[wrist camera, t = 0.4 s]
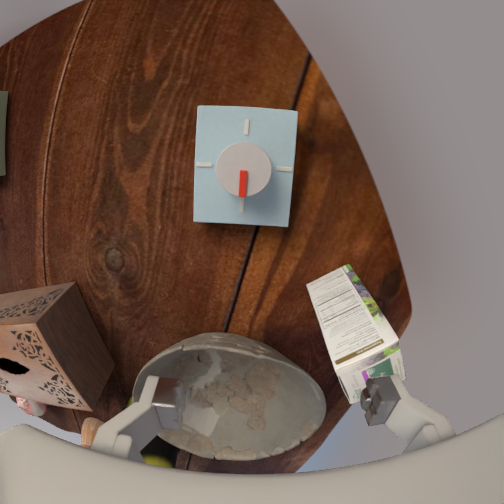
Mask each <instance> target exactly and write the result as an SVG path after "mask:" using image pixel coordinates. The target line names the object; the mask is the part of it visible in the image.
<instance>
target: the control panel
mask: <svg viewBox="0 0 504 504" xmlns="http://www.w3.org/2000/svg"><path fill="white" fill-rule="evenodd" d="M297 121H298V111H290V110H280V109H269V108H256V107H238V106H198V111H197V128H196V148H195V175H194V222H209V223H229V224H248V225H265V226H281V227H288V222H289V213H290V203H291V192H292V182H293V171H294V159H295V147H296V134H297ZM238 142H249V143H253V144H256V145H258V146H259V147H261V148H262V149H263V150H264V151H265V152H266V153H267V155H268V156H269V158H270V161H271V165H272V173H271V178H270V180H269V182H268V184H267V185H266V187H265V188H264V189H263V190H262V191H260V192H259V193H257V194H255V195H252V196H248V197H239V196H235V195H232V194H230V193H228V192H227V191H226V190H225V189H223V187H222V186H221V185H220V183H219V182H218V179H217V176H216V163H217V160H218V157H219V156H220V154H221V153H222V151H223V150H224V149H226V148H227V147H228V146H230V145H232V144H234V143H238Z"/></svg>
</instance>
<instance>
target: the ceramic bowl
mask: <svg viewBox="0 0 504 504" xmlns="http://www.w3.org/2000/svg"><path fill="white" fill-rule="evenodd" d="M149 375H152V376H158V377H166V378H173V379H180V380H183V382H184V389H183V390H184V391H185V393H186V407H185V412H183V413H182V415H183V423H182V429H181V431H178V430H169V429H162V430H161V431H160V432H159V433H158V434H157V435H158V436H159V437H160V438H162V439H163V440H165V441H167V442H169V443H170V444H172V445H174V446H176V447H178V448H180V449H185V450H186V451H188V452H190V453H192V454H195V455H197V456H201V457H205V458H212V459H213V457H214V455H215V458H216V459H218V460H222V459H225V460H254V459H263V458H265V457H270V456H271V455H273V456H274V455H278V454H281V453H283V452H285V450H286V451H288V450H290V449H292V448H294V447H296V446H298V445H299V444H300V442H301V441H305V440H307V439H308V438H310V437H311V436H312V435H313V434H314V433H315V431H316V430H317V429H318V428H319V427H320V426H321V424H322V422H323V420H324V418H325V415H326V400H325V396H324V394H323V391H322V390H321V388H320V387H319V385H318V383H317V382H316V381H315V380H314V379H313V378H312V377H311V376H310V375H309V374H308V373H307V372H305V371H304V370H303V369H301V368H300V367H299V366H298V365H296V364H295V363H294V362H292V361H291V360H289V359H288V358H286V357H285V356H283V355H282V354H281V353H279V352H278V351H277V350H275V349H273V348H272V347H270V346H268V345H266V344H264V343H262V342H260V341H257V340H254V339H251V338H247V337H244V336H241V335H237V334H234V333H222V332H213V333H204V334H199V335H196V336H193V337H190V338H187V339H184V340H182V341H180V342H178V343H176V344H174V345H173V346H171V347H169V348H167V349H166V350H164V351H163V352H161V353H160V354H158V355H157V356H155V357H154V358H153V359H151V360H150V361H149V362H148V363H147V364H146V365H145V366H144V367H143V368H142V370H141V371H140V373H139V375H138V377H137V379H136V381H135V384H134V388H133V392H132V400H133V403H135V402H139V400H140V397H141V394H142V391H143V388H144V385H145V383H146V380H147V377H148V376H149Z"/></svg>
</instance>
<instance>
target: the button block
mask: <svg viewBox="0 0 504 504" xmlns="http://www.w3.org/2000/svg"><path fill="white" fill-rule="evenodd" d="M7 99H8V91H0V176H3V175H6V169H5V127H6V110H7Z"/></svg>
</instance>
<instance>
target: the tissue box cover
mask: <svg viewBox="0 0 504 504" xmlns="http://www.w3.org/2000/svg"><path fill="white" fill-rule="evenodd" d="M114 366H115V362H114V360H113V358H112V356H111V355H110V353H109V351H108V349H107V347H106V345H105V344H104V342H103V340H102V338H101V336H100V334H99V332H98V330H97V328H96V326H95V324H94V322H93V320H92V318H91V316H90V313H89V311H88V309H87V307H86V305H85V303H84V300H83V298H82V296H81V293H80V291H79V289H78V286H77V284H76V282H70V283H64V284H58V285H52V286H46V287H41V288H35V289H29V290H23V291H17V292H11V293H5V294H0V392H1V393H5V394H8V395H12V396H15V397H19V398H23V399H27V400H31V401H35V402H40V403H44V404H49V405H54V406H60V407H65V408H71V409H78V410H85V411H92V412H93V411H94V409H95V407H96V404H97V402H98V400H99V398H100V396H101V393H102V391H103V389H104V387H105V385H106V383H107V381H108V379H109V377H110V375H111V372H112V370H113V368H114Z"/></svg>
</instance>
